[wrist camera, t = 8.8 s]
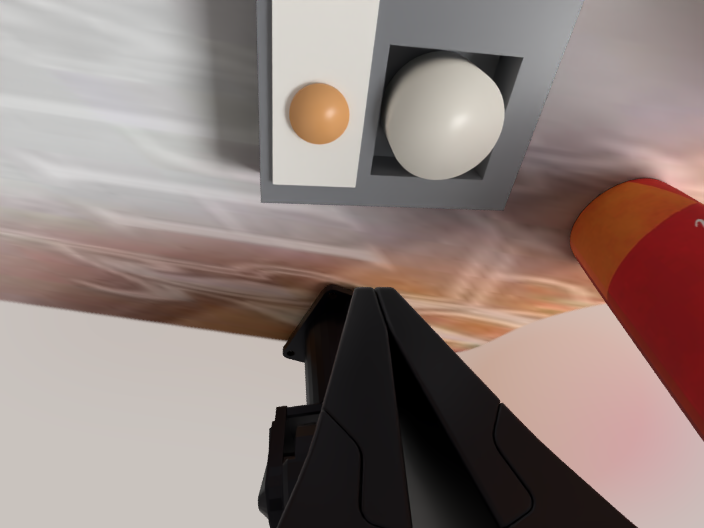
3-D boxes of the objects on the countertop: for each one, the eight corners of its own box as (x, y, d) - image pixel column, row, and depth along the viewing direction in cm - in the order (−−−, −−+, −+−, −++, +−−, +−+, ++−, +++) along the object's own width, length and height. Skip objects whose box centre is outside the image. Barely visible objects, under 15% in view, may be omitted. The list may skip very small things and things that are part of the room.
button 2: (468, 160, 20) (484, 182, 18) (373, 155, 19) (381, 177, 17) (500, 56, 17) (521, 71, 15) (390, 46, 16) (401, 60, 15)
